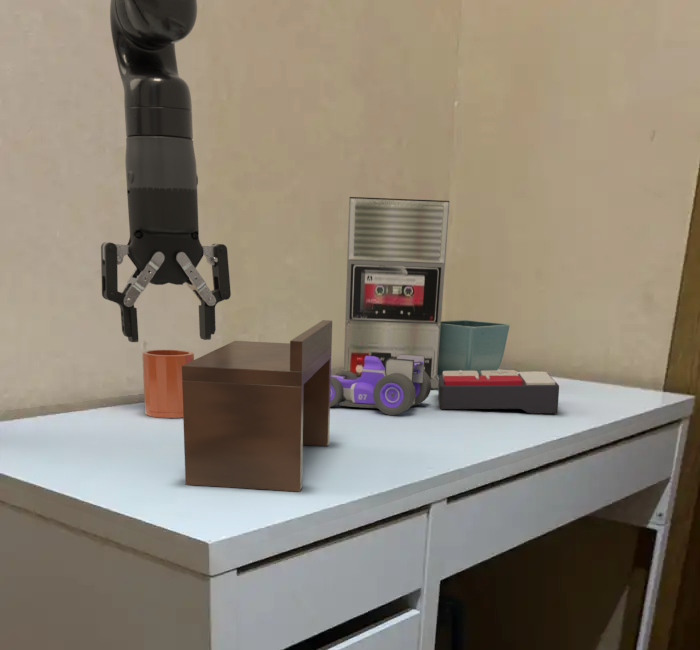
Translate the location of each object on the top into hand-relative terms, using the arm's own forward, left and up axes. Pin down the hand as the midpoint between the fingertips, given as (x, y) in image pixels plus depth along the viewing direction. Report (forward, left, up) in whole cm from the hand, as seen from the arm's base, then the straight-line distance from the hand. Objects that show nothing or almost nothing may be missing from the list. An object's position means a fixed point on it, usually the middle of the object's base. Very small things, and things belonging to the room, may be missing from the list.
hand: (169, 340), depth 108 cm
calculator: (+39, +18, -9) cm, 44 cm away
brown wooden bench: (+15, -22, -8) cm, 28 cm away
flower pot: (+35, +35, -9) cm, 50 cm away
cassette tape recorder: (+24, +31, -9) cm, 40 cm away
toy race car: (+22, +12, -9) cm, 26 cm away
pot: (0, 0, -8) cm, 8 cm away
